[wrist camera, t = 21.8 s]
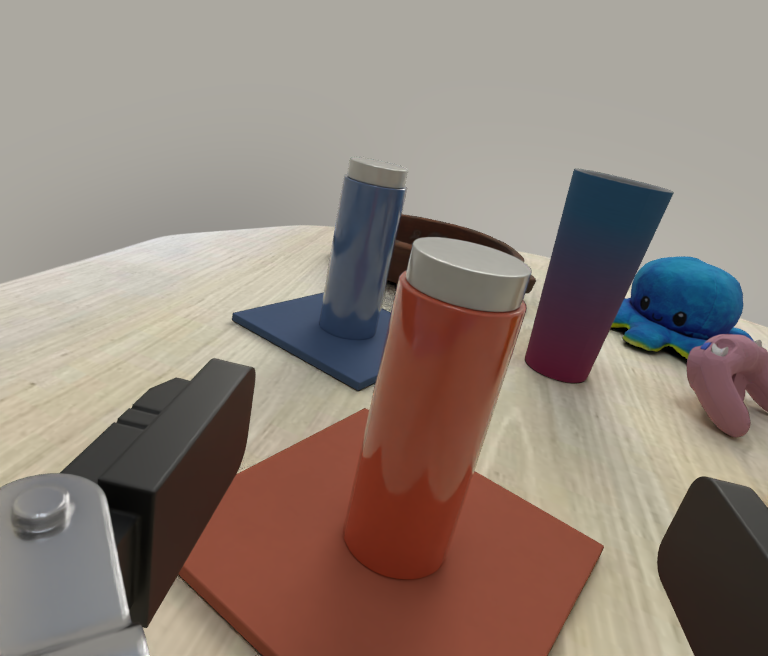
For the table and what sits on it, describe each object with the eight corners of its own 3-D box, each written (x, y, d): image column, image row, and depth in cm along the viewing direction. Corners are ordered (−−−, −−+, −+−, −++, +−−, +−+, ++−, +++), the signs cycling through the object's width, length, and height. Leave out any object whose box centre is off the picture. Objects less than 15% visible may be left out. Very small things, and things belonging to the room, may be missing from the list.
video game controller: (733, 411, 48) (727, 330, 48) (796, 416, 44) (791, 328, 44) (678, 433, 42) (671, 340, 42) (746, 441, 38) (739, 339, 38)
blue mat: (358, 391, 35) (359, 382, 34) (231, 320, 41) (232, 312, 40) (451, 347, 44) (453, 340, 44) (338, 295, 50) (339, 288, 50)
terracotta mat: (450, 839, 14) (456, 826, 14) (138, 536, 21) (138, 524, 21) (600, 555, 25) (604, 545, 25) (363, 416, 32) (365, 407, 32)
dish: (531, 332, 51) (548, 281, 49) (305, 272, 54) (313, 222, 52) (526, 282, 67) (538, 243, 65) (352, 238, 70) (359, 199, 68)
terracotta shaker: (366, 590, 20) (448, 274, 16) (328, 507, 24) (386, 229, 19) (467, 569, 22) (566, 282, 18) (418, 495, 26) (490, 241, 21)
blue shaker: (351, 345, 39) (386, 170, 35) (306, 322, 41) (333, 154, 37) (387, 332, 43) (423, 172, 38) (344, 311, 45) (373, 157, 40)
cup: (501, 344, 47) (557, 163, 41) (573, 352, 49) (636, 179, 43) (534, 384, 41) (606, 179, 35) (615, 393, 42) (695, 197, 37)
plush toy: (739, 337, 64) (772, 269, 61) (774, 395, 49) (821, 308, 46) (592, 294, 69) (616, 228, 66) (583, 334, 54) (614, 251, 51)
